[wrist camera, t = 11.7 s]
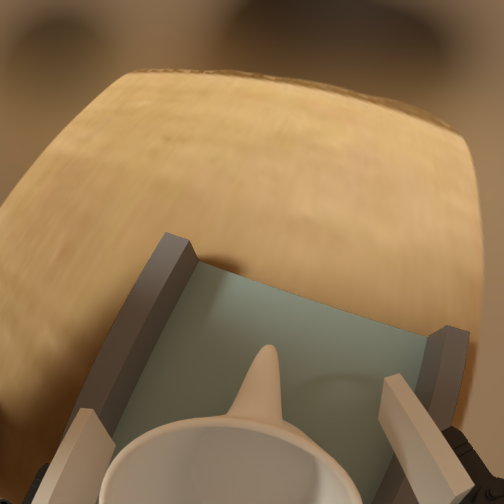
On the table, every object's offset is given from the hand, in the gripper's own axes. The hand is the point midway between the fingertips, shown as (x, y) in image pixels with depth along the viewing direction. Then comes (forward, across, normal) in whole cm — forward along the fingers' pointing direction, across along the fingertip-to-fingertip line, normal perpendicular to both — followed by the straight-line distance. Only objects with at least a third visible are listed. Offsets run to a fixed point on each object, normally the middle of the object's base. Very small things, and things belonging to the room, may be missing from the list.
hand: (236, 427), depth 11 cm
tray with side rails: (+4, 0, -6) cm, 7 cm away
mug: (+3, 0, -6) cm, 7 cm away
